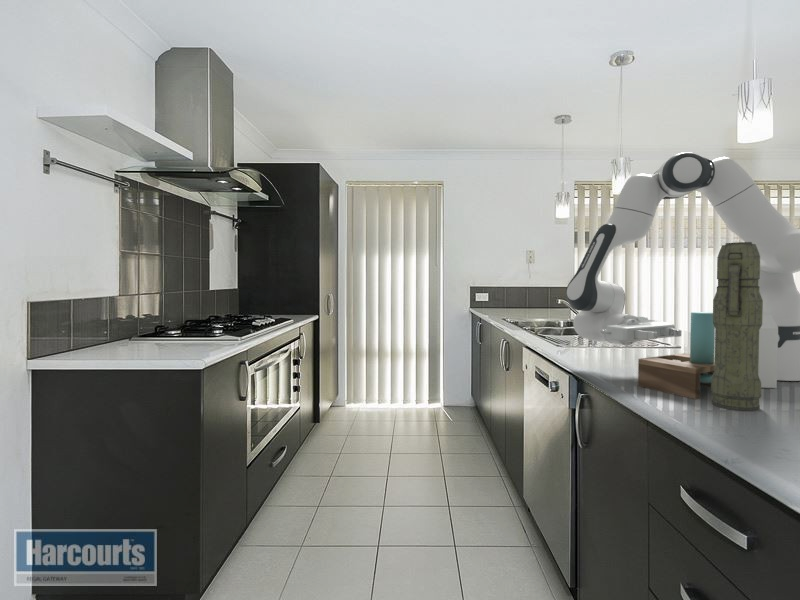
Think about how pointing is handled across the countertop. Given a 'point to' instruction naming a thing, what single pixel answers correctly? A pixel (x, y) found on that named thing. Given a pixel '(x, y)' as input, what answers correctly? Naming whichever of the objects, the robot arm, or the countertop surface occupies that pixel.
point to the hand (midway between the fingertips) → (667, 334)
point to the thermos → (737, 328)
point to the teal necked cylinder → (702, 341)
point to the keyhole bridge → (673, 374)
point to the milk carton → (768, 351)
